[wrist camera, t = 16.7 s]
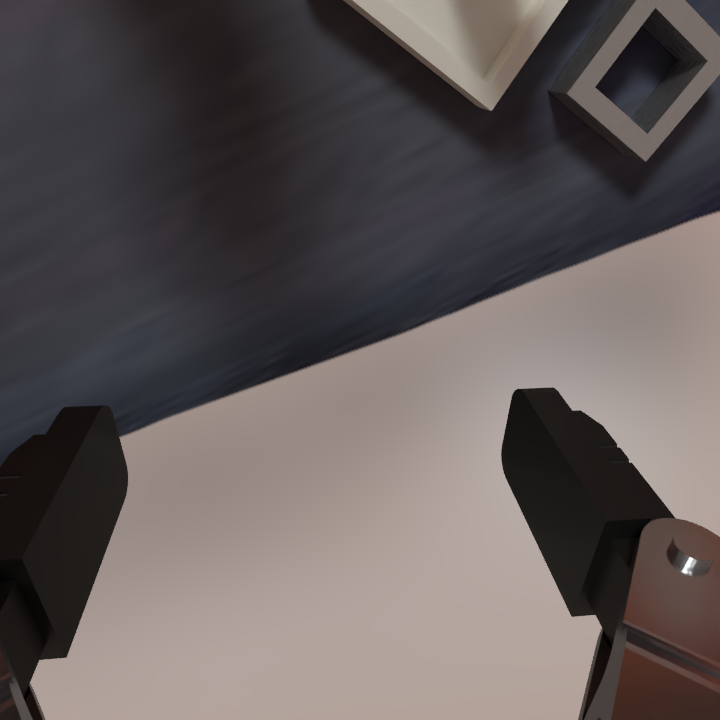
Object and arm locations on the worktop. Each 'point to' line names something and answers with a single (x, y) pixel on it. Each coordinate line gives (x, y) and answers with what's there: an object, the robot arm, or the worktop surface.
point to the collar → (673, 94)
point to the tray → (466, 38)
